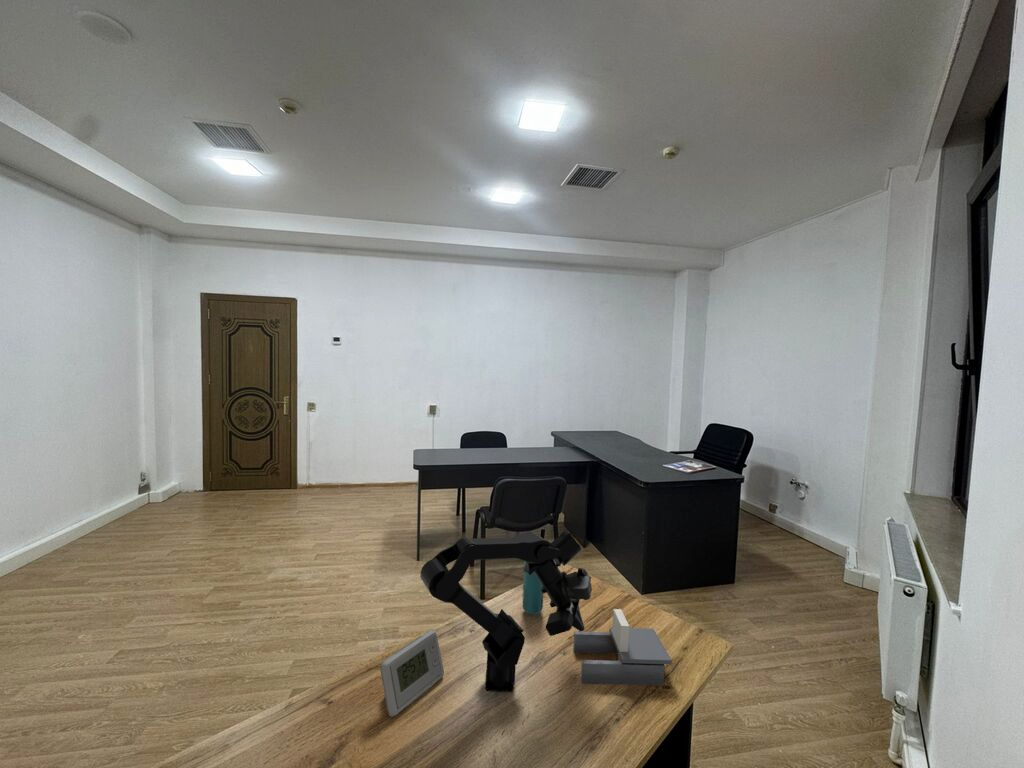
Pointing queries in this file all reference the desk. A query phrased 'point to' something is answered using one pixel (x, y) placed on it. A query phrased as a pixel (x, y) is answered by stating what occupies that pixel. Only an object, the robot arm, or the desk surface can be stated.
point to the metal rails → (612, 663)
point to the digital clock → (411, 671)
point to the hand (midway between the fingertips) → (582, 629)
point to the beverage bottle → (532, 594)
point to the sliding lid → (637, 642)
